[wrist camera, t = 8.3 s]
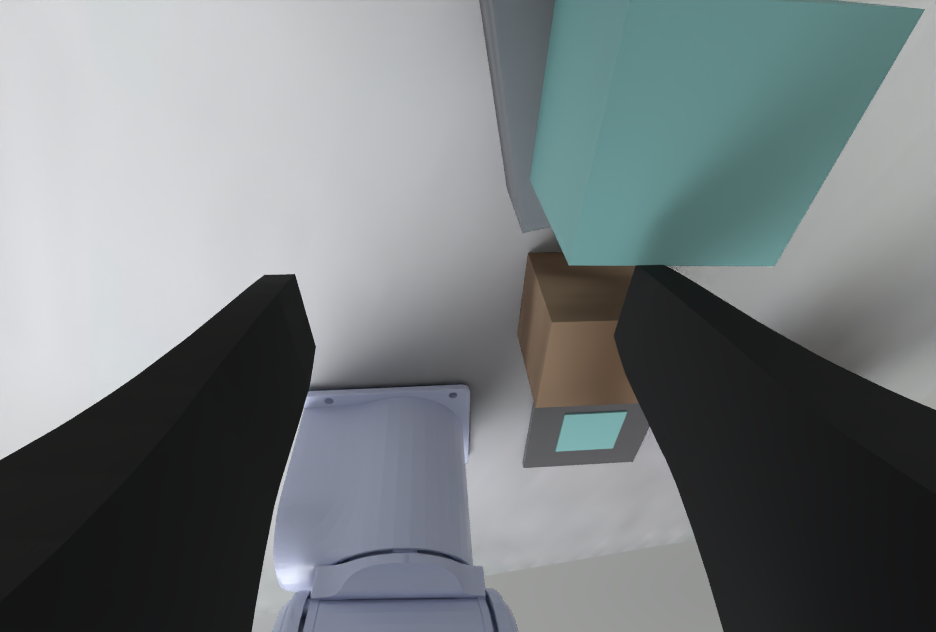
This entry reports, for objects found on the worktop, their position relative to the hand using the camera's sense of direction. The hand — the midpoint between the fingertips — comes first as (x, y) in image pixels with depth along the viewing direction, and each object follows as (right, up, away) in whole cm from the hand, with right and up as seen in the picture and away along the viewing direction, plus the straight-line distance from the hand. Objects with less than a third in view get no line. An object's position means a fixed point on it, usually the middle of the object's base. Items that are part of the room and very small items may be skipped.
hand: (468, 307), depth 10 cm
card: (+8, -8, +19) cm, 22 cm away
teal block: (+5, +6, +3) cm, 8 cm away
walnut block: (+5, +1, +12) cm, 13 cm away
